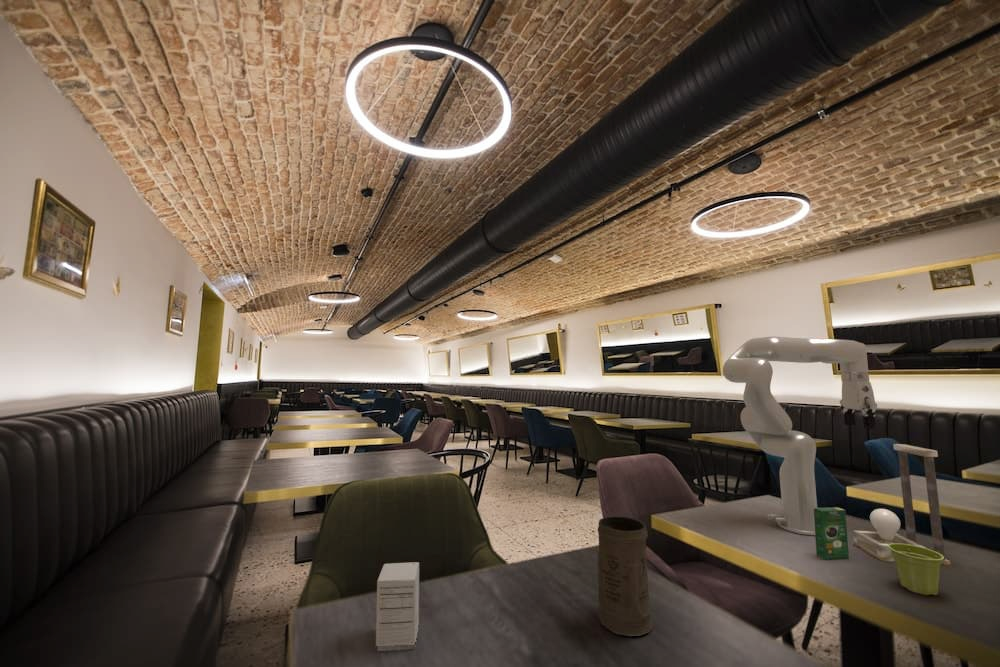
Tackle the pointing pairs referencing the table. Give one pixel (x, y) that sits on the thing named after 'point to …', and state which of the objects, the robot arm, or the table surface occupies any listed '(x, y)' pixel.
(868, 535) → the socket stand
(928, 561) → the plant pot
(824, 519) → the coffee box
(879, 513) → the lightbulb
